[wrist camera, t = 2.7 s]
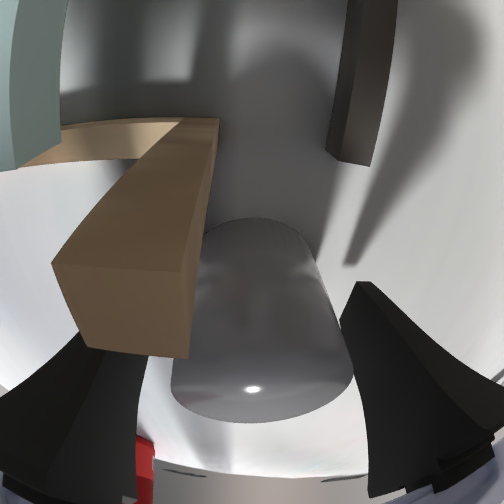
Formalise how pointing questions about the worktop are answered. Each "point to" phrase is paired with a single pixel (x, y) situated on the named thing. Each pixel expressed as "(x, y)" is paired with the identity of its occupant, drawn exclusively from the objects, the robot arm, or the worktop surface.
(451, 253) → the worktop surface
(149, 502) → the canned food
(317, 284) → the grey matte cylinder
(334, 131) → the toy chair
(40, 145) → the teal flat panel
